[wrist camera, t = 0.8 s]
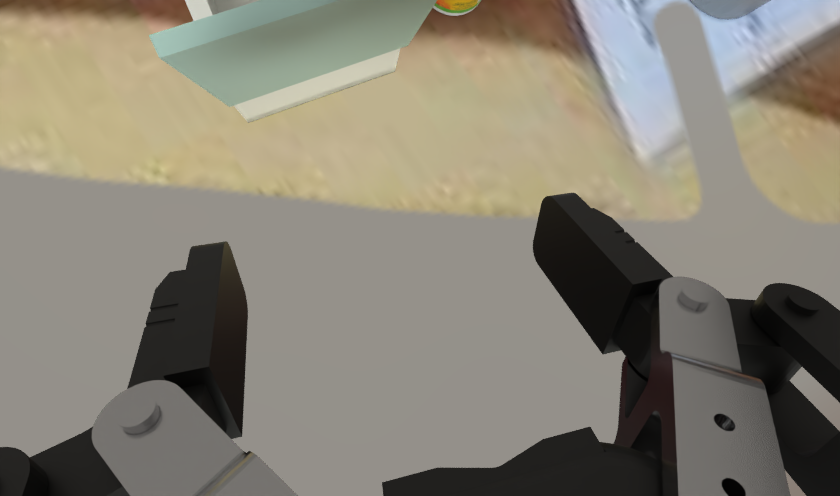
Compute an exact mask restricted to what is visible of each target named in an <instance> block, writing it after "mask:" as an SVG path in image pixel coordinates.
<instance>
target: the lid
mask: <svg viewBox="0 0 840 496" xmlns="http://www.w3.org/2000/svg"><path fill="white" fill-rule="evenodd" d="M436 1H437V0H259V1H256V2H253V3H250V4H247V5H244V6H240V7H237V8H234V9H231V10H228V11H224V12H221V13H218V14H215V15H212V16H208V17H205V18H202V19H199V20H196V21H193V22H189V23H186V24H183V25H180V26H177V27H173V28H170V29H167V30H164V31H161V32H157V33H154V34H151V35H149V37H150V39H151V41H152V43H153V45H154V47H155V49H156V52H157V54H158V56H159V58H160V59H162V60H163V61H164V62H166V63H167V64H169V65H170V66H172V67H173V68H175V69H176V70H177V71H179V72H180V73H182V74H183V75H185V76H186V77H187V78H189V79H190V80H192V81H193V82H195V83H196V84H197V85H199V86H200V87H202V88H203V89H205V90H206V91H207V92H209V93H210V94H212V95H213V96H215V97H216V98H217V99H219V100H220V101H222V102H223V103H225V104H226V105H227V106H229V107H231V106H234V105H237V104H240V103H242V102H245V101H248V100H251V99H254V98H257V97H260V96H263V95H266V94H269V93H272V92H274V91H277V90H280V89H283V88H286V87H289V86H292V85H295V84H298V83H301V82H304V81H306V80H309V79H312V78H315V77H318V76H321V75H324V74H327V73H330V72H333V71H336V70H338V69H341V68H344V67H347V66H350V65H353V64H356V63H359V62H362V61H365V60H368V59H370V58H373V57H376V56H379V55H382V54H385V53H388V52H391V51H394V50H397V49H400V48H402V47H405V46H408V45H409V43H410V42H411V40H412V39H413V37H414V35H415V34H416V32H417V31H418V29H419V28H420V26H421V25H422V23H423V22H424V20H425V18H426V17H427V15H428V14H429V12H430V11H431V9H432V8H433V6H434V5H435V3H436Z"/></svg>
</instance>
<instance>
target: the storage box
mask: <svg viewBox="0 0 840 496" xmlns="http://www.w3.org/2000/svg"><path fill="white" fill-rule="evenodd" d="M185 1H186V4H187V6H188V8H189V11H190V13H191V16H192V18H193V20H194V21H196V20H199V19H202V18H205V17H208V16H212V15H215V14H218V13H221V12H224V11H228V10H231V9H234V8H237V7H240V6H244V5H247V4H250V3H253V2H256V1H259V0H185ZM399 52H400V49H397V50H394V51H391V52H388V53H385V54H382V55H379V56H376V57H373V58H370V59H368V60H365V61H362V62H359V63H356V64H353V65H350V66H347V67H344V68H341V69H338V70H336V71H333V72H330V73H327V74H324V75H321V76H318V77H315V78H312V79H309V80H306V81H304V82H301V83H298V84H295V85H292V86H289V87H286V88H283V89H280V90H277V91H274V92H272V93H269V94H266V95H263V96H260V97H257V98H254V99H251V100H248V101H245V102H242V103H240V104H237V105H234V107H235V108H236V109H237V110H238V111H239V112H240V114H241V115H242V116H243V117H244V118H245V119H246V121H247V122H248V123H249V122H252V121H255V120H258V119H260V118H263V117H266V116H269V115H272V114H275V113H278V112H280V111H283V110H286V109H289V108H292V107H295V106H297V105H300V104H303V103H306V102H309V101H312V100H315V99H317V98H320V97H323V96H326V95H329V94H332V93H335V92H337V91H340V90H343V89H346V88H349V87H352V86H354V85H357V84H360V83H363V82H366V81H369V80H372V79H374V78H377V77H380V76H383V75H386V74H389V73H392V72H394V71H395V69H396V65H397V60H398V56H399Z"/></svg>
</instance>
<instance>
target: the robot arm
mask: <svg viewBox="0 0 840 496" xmlns="http://www.w3.org/2000/svg"><path fill="white" fill-rule="evenodd" d="M769 1H771V0H691V2H692V3H693V4H694V5H695V6H696V7H697V8H699V9H700V10H701V11H703V12H704V13H706V14H708V15H710V16H713V17H715V18H718V19H727V20H728V19H736V18H740V17H742V16H745V15H747V14H749V13H750V12H752V11H754V10H755V9H757V8H759V7H760V6H762V5H764V4H766V3H767V2H769ZM533 252H534V256H535V259H536V262H537V263H538V265H539V266H540V268H541V269H542V271H543V272H544V273H545V275H546V276H547V278H548V279H549V280H550V281H551V283H552V285H553V286H554V287H555V289H556V290H557V291H558V293H559V294H560V296H561V297H562V298H563V300H564V301H565V303H566V304H567V305H568V307H569V308H570V310H571V311H572V312H573V314H574V315H575V317H576V318H577V319H578V321H579V322H580V323H581V325H582V326H583V328H584V329H585V330H586V332H587V333H588V335H589V336H590V337H591V339H592V340H593V342H594V343H595V344H596V346H597V347H598V348H599V350H600V351H601V353H602V354H607V353H610V352H615V351H620V350H622V352H623V353H624V354H625V355H626V357H625V359H624V361H623V363H622V372H621V388H620V389H621V390H620V404H619V421H618V430H617V434H616V438H615V441H614V444H610V443H603V442H599V441H598V439H597V437H596V436H595V434H594V432H593V431H592V429H591V427H587V428H583V429H580V430H576V431H572V432H569V433H565V434H561V435H557V436H554V437H550V438H546V439H543V440H541V441H540V442H538V443H536V444H535V445H533V446H532V447H530V448H528V449H527V450H525V451H524V452H522V453H521V454H519V455H517V456H516V457H514V458H513V459H511V460H510V461H508V462H506V463H505V464H503V465H501V466H499V467H496V468H435V469H431V470H427V471H424V472H420V473H416V474H413V475H409V476H405V477H401V478H398V479H394V480H390V481H386V482H382V486H383V496H790V492H789V488H788V483H787V479H786V475H785V470H786V471H787V473H788V474H789V475H790V476H791V478H792V479H793V480H794V481H795V482H796V484H797V485H798V486H799V487H800V488H801V489H802V491H803V492H804V493H805V494H806V496H840V431H839V430H837V428H836V427H835V426H833V424H832V423H831V422H830V421H829V420H827V418H826V417H825V416H824V415H823V414H822V413H821V412H820V411H819V410H818V409H817V408H816V407H815V406H814V405H813V404H812V403H811V402H810V401H809V400H808V399H807V398H806V397H805V396H804V395H803V394H802V393H801V392H800V391H799V390H798V389H797V388H796V387H795V386H794V385H793V384H792V383H791V382H790V381H789V380H790V379H791V378H792V377H793V376H794V375H795V373H796V372H797V371H798V370H799V369H800V368H801V367H803V368H804V369H805V370H807V372H808V373H810V374H811V375H812V376H813V377H814V378H815V379H816V380H817V381H818V382H819V383H820V384H821V385H822V386H823V387H824V388H825V389H826V390H828V392H829V393H831V394H832V396H834V397H835V398H836V399H837V400H838V401H839V402H840V311H839V310H838V309H837V308H835V307H834V306H833V305H831V304H830V303H829V302H828V301H826V300H825V299H824V298H822V297H820V296H819V295H817V294H815V293H813V292H811V291H809V290H807V289H804V288H801V287H799V286H795V285H791V284H785V283H775V284H770V285H768V286H766V287H765V288H764V289H763V291H762V292H761V294H760V295H759V297H758V298H757V300H743V299H728V298H725V297H724V296H723V295H722V294H721V293H720V292H719V291H717V290H716V289H714V288H713V287H711V286H710V285H708V284H706V283H704V282H701V281H699V280H695V279H692V278H687V277H673V276H672V275H671V274H670V273H669V272H668V271H667V270H666V269H665V268H664V267H663V266H662V265H661V264H659V263H658V262H657V261H656V260H655V259H654V258H653V257H652V256H651V255H650V254H649V253H648V252H647V251H646V250H645V249H644V248H643V247H642V246H641V245H640V244H639V243H637V242H636V243H635V241H634V239H633V238H632V237H631V236H630V235H629V234H628V233H627V232H624V229H623V228H622V227H621V226H620V225H619V224H618V223H617V222H616V221H615V220H613V219H612V218H611V217H609V216H607V215H606V214H604V213H602V212H600V211H598V210H596V209H594V208H590V207H589V206H588V205H587V204H586V203H585V202H584V201H583V200H582V199H581V198H580V197H579V196H578V195H577V194H575V193H567V194H560V195H553V196H547V197H545V198H544V199H543V201H542V204H541V208H540V213H539V217H538V222H537V227H536V231H535V236H534V240H533ZM150 309H151V312H149V314H148V317H147V321H146V327H145V328H144V332H143V335H142V339H141V342H140V346H139V350H138V353H137V357H136V360H135V364H134V367H133V371H132V375H131V378H130V382H129V385H128V388H127V390H125V391H123V392H122V393H120V394H119V395H118V396H116V397H115V398H114V399H112V400H111V401H110V402H109V403H108V404H107V405H106V406H105V407H104V409H103V410H102V411H101V413H100V414H99V415H98V417H97V419H96V421H95V423H94V426H93V427H92V428H90V429H89V430H87V431H85V432H83V433H82V434H79V435H77V436H75V437H73V438H71V439H69V440H66V441H64V442H62V443H60V444H58V445H56V446H54V447H51V448H49V449H47V450H45V451H43V452H41V453H39V454H36V455H34V456H32V457H28V456H27V455H26V454H25V453H24V452H22V451H21V450H19V449H16V448H11V447H0V496H298V495H296V493H294V491H293V490H292V489H291V488H290V487H289V486H288V485H287V484H286V483H285V482H284V481H283V480H282V479H281V478H280V477H279V476H278V475H277V474H275V473H274V471H273V470H271V469H270V468H269V467H268V466H267V465H266V464H265V463H264V462H263V461H262V460H261V459H260V458H259V457H258V456H257V455H255V454H254V453H252V452H250V451H249V452H247V453H246V452H244V451H243V450H242V449H240V447H239V446H237V444H236V443H234V441H233V440H232V439H233V438H237V437H242V427H243V406H244V405H243V404H244V383H245V362H246V341H247V320H248V308H247V300H246V295H245V291H244V287H243V284H242V281H241V278H240V275H239V272H238V269H237V266H236V263H235V260H234V257H233V254H232V251H231V248H230V246H229V244H228V242H219V243H213V244H206V245H199V246H193V247H191V249H190V253H189V257H188V262H187V266H186V270H181V271H174V272H170V273H169V274H168V275H167V276H166V277H165V279H164V280H163V281H162V283H160V285H159V286H158V287H157V288H156V290H155V293H154V296H153V300H152V303H151V307H150ZM784 469H785V470H784Z"/></svg>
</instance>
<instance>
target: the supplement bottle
mask: <svg viewBox="0 0 840 496" xmlns="http://www.w3.org/2000/svg"><path fill="white" fill-rule="evenodd" d="M480 1H481V0H437V1H436V3H435V5H434V6H433V8H434V9H436V10H437V11H439V12H441V13H443V14H446V15H451V16H458V15H463V14H466V13H468V12H470V11H472V10H473V9H474V8H475V7H476V6H477V5H478V4H479V3H480Z"/></svg>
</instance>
